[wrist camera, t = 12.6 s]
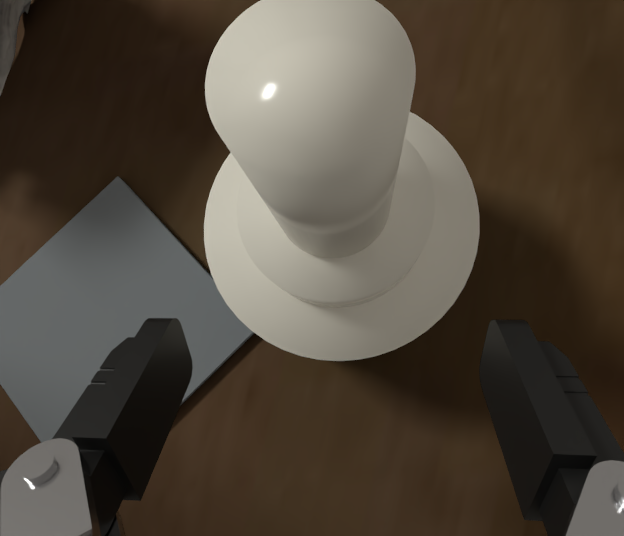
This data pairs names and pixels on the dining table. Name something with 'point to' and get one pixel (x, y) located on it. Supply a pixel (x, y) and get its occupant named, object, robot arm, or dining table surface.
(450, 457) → the dining table surface
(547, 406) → the robot arm
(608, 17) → the dining table surface
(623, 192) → the dining table surface
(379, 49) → the lid
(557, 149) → the dining table surface
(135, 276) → the mat
